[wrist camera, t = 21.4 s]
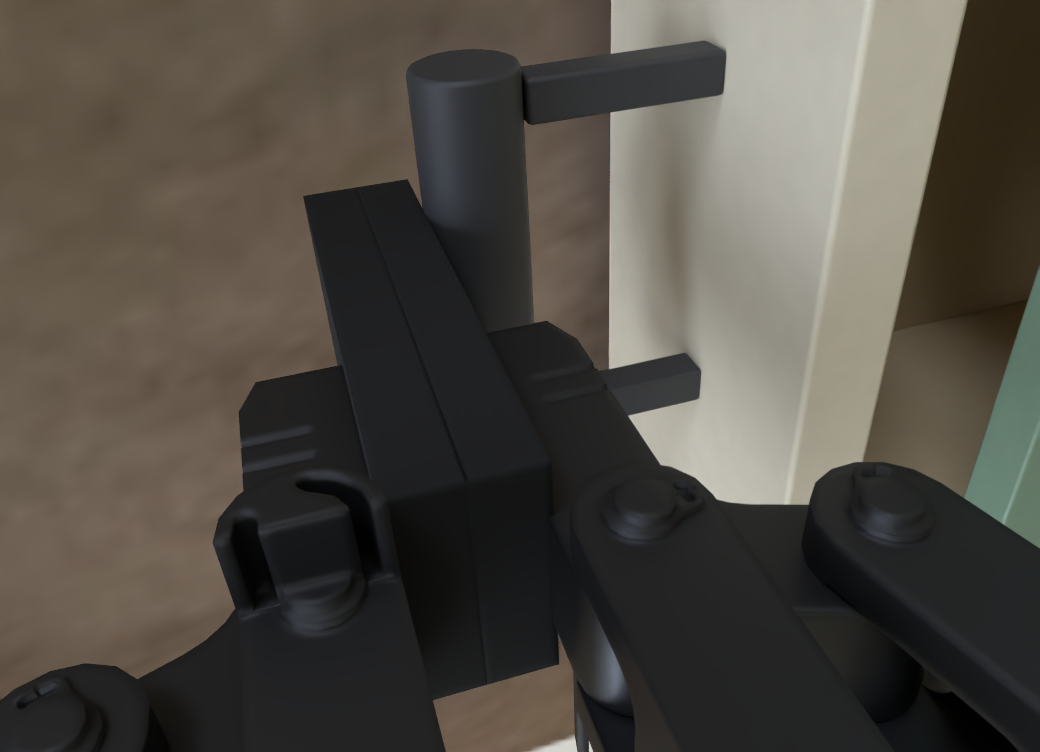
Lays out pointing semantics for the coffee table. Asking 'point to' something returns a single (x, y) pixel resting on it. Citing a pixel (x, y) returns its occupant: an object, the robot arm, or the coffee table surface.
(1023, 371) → the cabinet
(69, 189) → the coffee table surface
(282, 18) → the coffee table surface
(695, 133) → the drawer
